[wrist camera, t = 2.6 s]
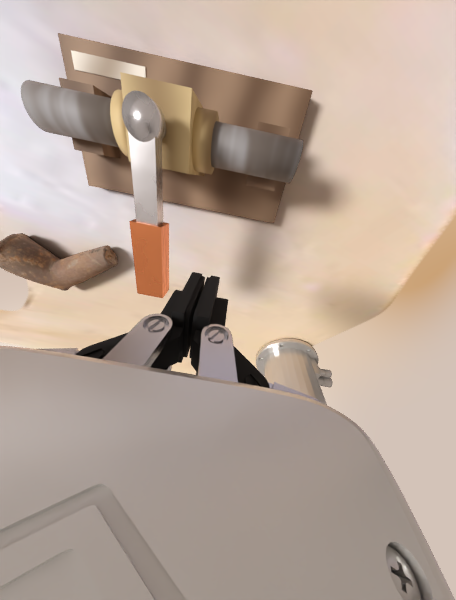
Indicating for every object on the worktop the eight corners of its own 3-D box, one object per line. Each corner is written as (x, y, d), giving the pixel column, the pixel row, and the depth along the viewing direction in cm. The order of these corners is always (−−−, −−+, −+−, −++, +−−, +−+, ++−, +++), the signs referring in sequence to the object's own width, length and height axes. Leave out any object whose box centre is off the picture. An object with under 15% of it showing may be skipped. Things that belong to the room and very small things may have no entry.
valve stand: (308, 96, 19) (363, 20, 10) (272, 221, 25) (286, 242, 16) (70, 43, 18) (-96, -89, 9) (96, 185, 25) (13, 186, 16)
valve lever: (168, 104, 12) (158, 93, 11) (168, 289, 20) (162, 298, 19) (130, 95, 12) (114, 83, 11) (145, 285, 20) (137, 293, 19)
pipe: (113, 278, 27) (47, 210, 21) (37, 308, 31) (-36, 258, 25) (131, 257, 32) (82, 197, 26) (63, 285, 36) (7, 239, 30)
